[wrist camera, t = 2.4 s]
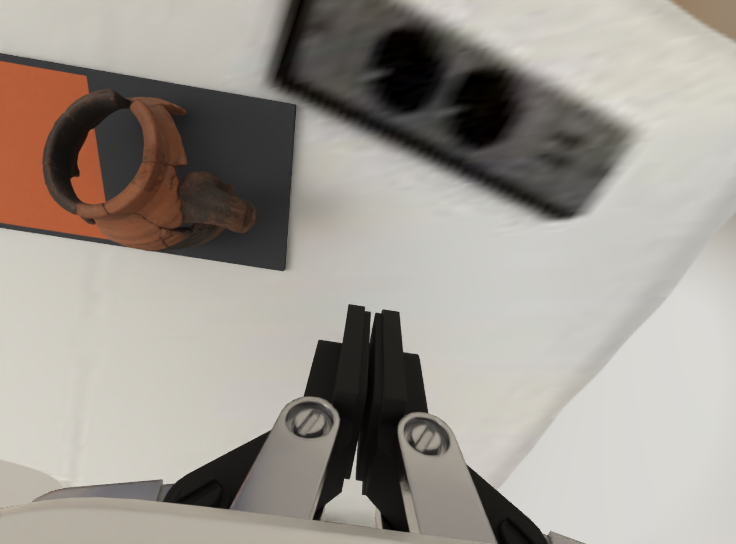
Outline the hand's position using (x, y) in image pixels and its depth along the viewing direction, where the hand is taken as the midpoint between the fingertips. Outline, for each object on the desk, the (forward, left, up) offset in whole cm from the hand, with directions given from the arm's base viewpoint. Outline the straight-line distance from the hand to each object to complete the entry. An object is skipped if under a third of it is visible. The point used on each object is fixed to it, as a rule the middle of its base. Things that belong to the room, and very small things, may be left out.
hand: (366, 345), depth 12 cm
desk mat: (0, -19, -16) cm, 25 cm away
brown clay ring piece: (0, -13, -16) cm, 21 cm away
